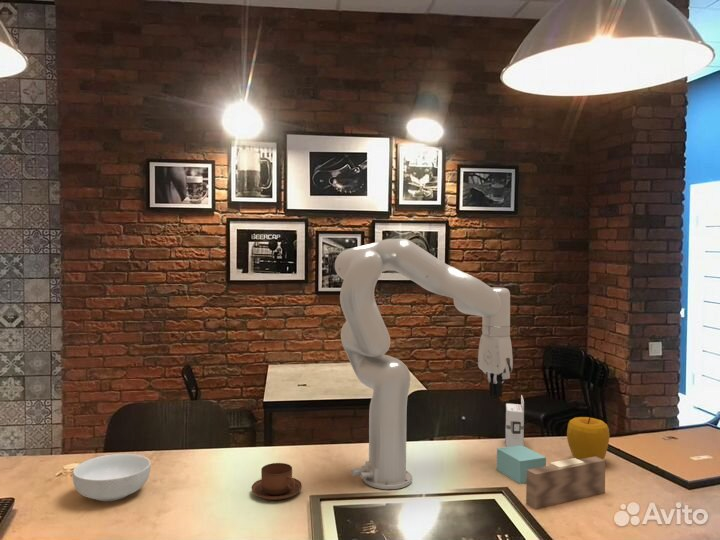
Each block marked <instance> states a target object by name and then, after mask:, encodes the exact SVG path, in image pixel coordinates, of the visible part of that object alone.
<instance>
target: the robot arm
mask: <svg viewBox="0 0 720 540" xmlns="http://www.w3.org/2000/svg"><path fill="white" fill-rule="evenodd" d="M334 270H335V273H336V275H337V276H338V277H339V278H341V279H342V280H343V281H342V284H341V287H340V288H341V289H340V293H339V294H340V295H339V302H340V307H341V311H342V312H343V313H342V314H343V316H344V318H345V322H344V323H343V324H342V327H341V331H340V341H341V344H342V347H343V349H344V352H345V354H346V356H347V358H348V361H349V362H350V365H351V368H352V370H353V371H354V372H353V373H354V374H355V375H356V377H357V379H358V381H359V382H360V383H361V384H363V385H364V386H366V387H367V388H369V389H372V391H373V392H372V397H371V399H370V403H369V411H368V412H369V413H368V414H369V415H368V416H369V417H368V425H369V426H368V428H369V429H368V437H369V438H368V461H367V460H365V464H364V465H362V467H354V468H351V470H350V473H351V476H352V477H358V476H360V479H362V481H363V482H364V484H366V485H367V486H369V487H372V488H376V489H379V490H397V489H401V488H406V487H407V486H410V484H412V481H413V475H412V474H411V472H410V471H408V470H407V414H408V413H407V411H408V410H407V406H408V398H409V397H408V396H409V392H410V388H411V387H410V386H411V374H410V370H409V368H408V366H407V365H406V363H404V362H403V361H402V360H400V359H398V358H396V357H393V356H390V355H387V352H388V351H389V349H390V347H391V337H390V334H389V331H388V328H387V326H386V324H385V322H384V319H383V317H382V315H381V312H380V309H379V308H378V305H377V301H376V298H375V290H376V289H375V288H376V286H377V282H378V281H379V278H380V277H381V275H382V273H383V272H387V271H391V272H394V271H395V272H397V273H398V274H401V275H402V276H404V277H406V278H407V279H409V280H410V281H412V282H413V283H415V284H417V285H418V286H420V287H421V288H423V289H424V290H426V291H428V292H431V293H433V294H434V295H435V294H436V295H439V296H443V297H446V298H451V299H453V305H454V307H455V308H456V309H457V311H458V312H460V313H462V314H465V315H471V316H477V317H482V319H481V320H482V321H481V322H482V326H481V327H482V333H481V335H480V339H479V344H478V353H477V354H478V355H477V366H478V368H479V370H481V371H482V373H484V374H485V375H486V376H487V381H488V385H489V386H488V387H489V391H488V392H489V393H488V394H489V397H490V398H495V399H496V398H501V397H502V396H503V383H504V381H505V380H508V379H510V378H511V373H512V372H513V365H514V363H513V360H514V359H513V358H514V357H513V348H512V346H513V345H512V340H511V292H510V290H509V288H506V287H495V286H493V287H491V286H489V285H488V284H487V283H485V282H483V281H482V280H481V279H479V278H477V277H475V276H473V275H471V274H469V273H466V272H464V271H462V270H460V269H458V268H456V267H454V266H452V265H449V264H447V263H446V262H443V261H442V260H441V259H439V258H437V257H435V256H434V255H433V254H431V253H429V251H427V250H425V249H424V248H423V247H420V246H419V245H418V244H416V243H414V242H413V241H412V240H410V239H406V238H388V239H387V238H386V239H382V240H379V241H375V242H371V243H367V244H363V245H360V246H359V245H358V246H355V247H351V248H346V249H344V250H342V251H341V252H340V253H339V254H338V255H337V257H336V258H335V261H334Z"/></svg>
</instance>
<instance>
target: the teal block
mask: <svg viewBox="0 0 720 540" xmlns="http://www.w3.org/2000/svg"><path fill="white" fill-rule="evenodd" d="M544 466H547V457H546V456H544V455H543V454H541V453H538V452H536V451H534V450H532V449H530V448H528V447H526V446H525V445H524V444H523V445H519V446H512V447H507V446H506V447H498V448H497V449H496V471H498V472H499V473H501V474H502V475H505V476H506V477H508V478H510V479H511V480H513V481H515V482H516V483H518V484H519V485H521V484H526V480H527V470H529V469H534V468H539V467H544Z"/></svg>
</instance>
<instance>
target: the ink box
mask: <svg viewBox="0 0 720 540" xmlns="http://www.w3.org/2000/svg"><path fill="white" fill-rule="evenodd" d="M524 423H525V401H524V397H523V395H522V394H521V396H520V404H518V403H505V445H506V447H512V446H519V445H523V446H524V434H525V433H524V429H525V426H524V425H525V424H524Z"/></svg>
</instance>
